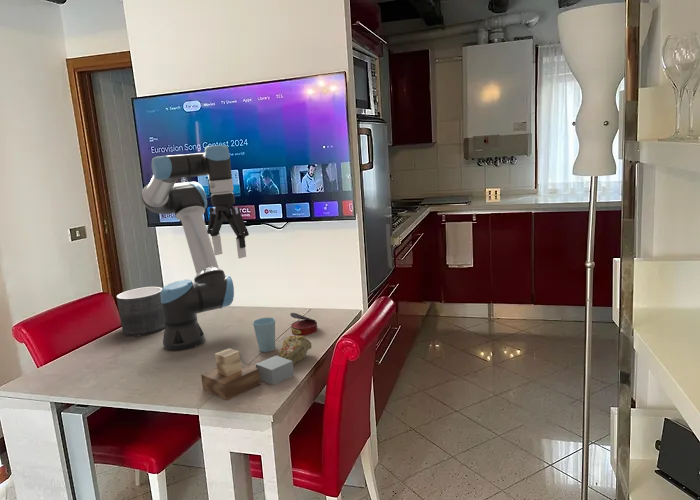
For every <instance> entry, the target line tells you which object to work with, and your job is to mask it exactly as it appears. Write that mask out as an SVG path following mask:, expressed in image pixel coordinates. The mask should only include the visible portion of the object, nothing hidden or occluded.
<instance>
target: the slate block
mask: <svg viewBox="0 0 700 500" xmlns="http://www.w3.org/2000/svg"><path fill="white" fill-rule="evenodd" d="M255 368H258V370H259V378H260V381H262V382H265V383H267V384H268V385H269V384H270V385H272V386H275V385H276V384H279V383H281V382H283V381H286V380H288V379H290V378H292V377H294V376H295V373H294V365H293V362H292V361H291V360H288V359H285V358H282V357H280V356H279V355H273V356H271V357H269V358H267V359H264V360H262V361H259V362H257V363H255ZM293 375H294V376H293ZM291 376H292V377H291ZM289 377H290V378H289ZM287 378H288V379H287ZM285 379H286V380H285Z"/></svg>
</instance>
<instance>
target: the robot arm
mask: <svg viewBox="0 0 700 500" xmlns="http://www.w3.org/2000/svg"><path fill="white" fill-rule="evenodd" d="M204 148H205V149H204V152H200V153H189V154H188V153H187V154H175V155H174V154H173V155H162V156H155V157H153V158H152V160H151V172H152V178H151V179H150V182H149V183H148V184H146V185H145V186H144V187H143V189H142V191H141V194H140V195H141V196H140V199H141V202H142V205H144V207H145V208H146V209H148V210H149V211H150V212H152V213H156V214H159V215H170V214H175V219H176V220H179V221H180V222H181V225H182V228H183V232H184V234H185V239H186V242H187V245H188V250H189V253H190V255H191V259H192V263H193V266H194V269H195V273H196V276H195V277H194V279H193V281H194V282H193V281H192V280H191V279H183V280H181V279H180V280H177V281H174V282H171V283H169V284H167V285H165V286H163V287H161V288H162V290H161V303H162V309H163V315H164V321H165V328H164V331H163V337H162V338H163V339H162V346H163V349H164V350H166V351H172V352H175V351H176V352H178V351H180V352H181V351H187V350H190V349H193V348H196V347H199V346H200V345H202V344H203V343H205V341H206V338H205V332H204V331H203V329H202V327H201V325H200V323H199V321H198V316H197V315H198V314H201V313H205V312H209V311H214V310H217V309H218V310H219V309H223V308H226V307H229V306H231V305H232V304H233V301H234V298H235V297H234V296H235V287H234V282H233V278H232V277H231V276H230V275H225V272H224V270H223V269H221V268H219V265H218V262H217V259H216V256H219V255H222V254H223V247H222V240H221V235H220V231H221V228H222V225H223V224H224V222H226V223H227V224H228V225H229V226H230V228H231V229H232V230H233V232H234V235H235V236H236V238H235V241H236V249H237V258H238V259H242V258H247V249H246V246H247V245H246V237H248V236H249V235H250V233H249V231H248V228H247V226H246V224H245V221H244V218H243V216H242V213H241V209H240V207H234V206H233V205H235V203H236V198H235V193H234V189H235V188H234V182H233V176H232V166H231V159H230V158H231V154H230V151H229V148H228V146H227V145H226V144H220V145H219V144H218V145H207V146H205V147H204ZM202 176H208V177H207V178H208V182H209V191H210V192H209V193H211V195H210V199H211V205H212V206H213V207H212V206H211V207H209V218H208V224H207V225H206V222H205V218H204V214H205V212H206V208H208V200H207V195H206V192H205V189H204V187H203V186H202V185H201V184H200V183H199V182H197V181H186V182H177V181H178V180H179V179H182V178H183V179H184V178H191V177H192V178H193V177H202ZM176 182H177V183H176ZM210 236H211V239H210Z"/></svg>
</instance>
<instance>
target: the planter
mask: <svg viewBox="0 0 700 500" xmlns="http://www.w3.org/2000/svg"><path fill="white" fill-rule="evenodd" d="M162 288H163V287H159V286H145V287H139V288H134V289H130V290H129V289H128V290H126V291H123V292H121V293H119V294H117V295H116V300H117V302H116V303H117V307H118V312H119V318H120V324H121V329H122V335H125V336H129V337H139V336H138V335H141V336H147V335H150V334H155V333H158V332H160V331H163V330H165V321H164V315H163V309H162V303H161V290H162ZM154 332H155V333H154ZM146 334H147V335H146Z"/></svg>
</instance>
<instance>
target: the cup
mask: <svg viewBox="0 0 700 500" xmlns="http://www.w3.org/2000/svg"><path fill="white" fill-rule="evenodd" d="M252 325H253V328H254V333H255V337H256V342H257V346H258V349H259V351H260V352H262V353H267V352H273V351H274V350H275V349H276V318H274V317H261V318H257V319H255V320H253V321H252Z"/></svg>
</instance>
